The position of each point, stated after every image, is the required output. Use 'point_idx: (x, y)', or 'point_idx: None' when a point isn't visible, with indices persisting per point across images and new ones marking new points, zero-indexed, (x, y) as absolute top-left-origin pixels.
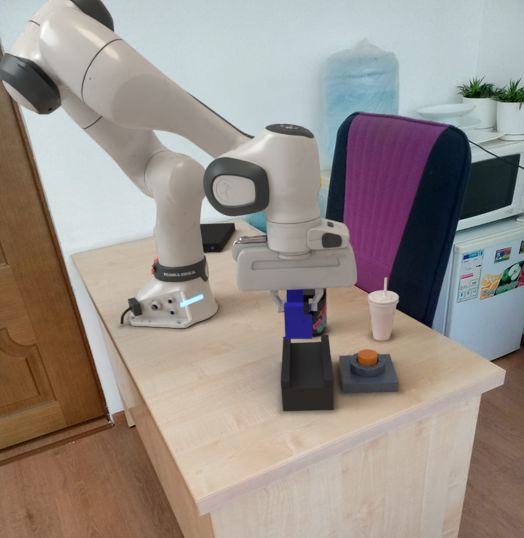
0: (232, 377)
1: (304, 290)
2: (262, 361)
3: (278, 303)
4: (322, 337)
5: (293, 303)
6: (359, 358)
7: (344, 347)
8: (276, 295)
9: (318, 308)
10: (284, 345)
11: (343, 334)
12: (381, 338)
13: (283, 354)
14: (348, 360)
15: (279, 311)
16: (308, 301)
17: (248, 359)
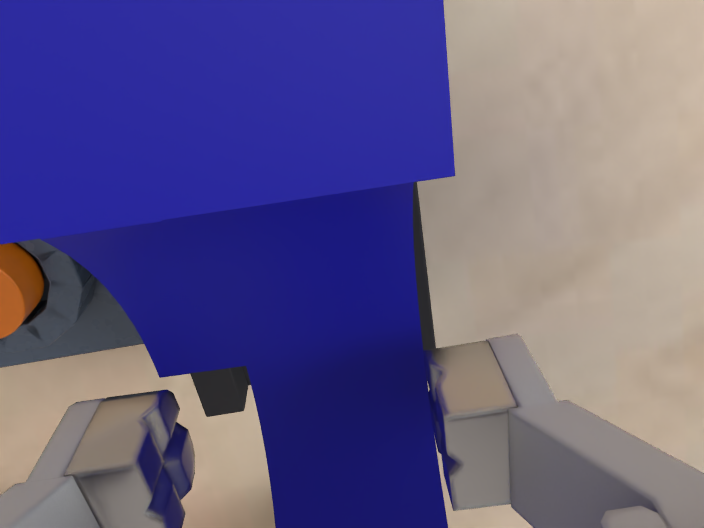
0: (639, 168)
1: None
2: (513, 299)
3: (544, 411)
4: (230, 392)
5: (196, 151)
6: (9, 266)
7: (191, 425)
8: (625, 509)
9: None
10: (420, 301)
11: (216, 499)
12: None
13: (413, 212)
14: (118, 307)
15: (502, 340)
16: None
17: (575, 306)
